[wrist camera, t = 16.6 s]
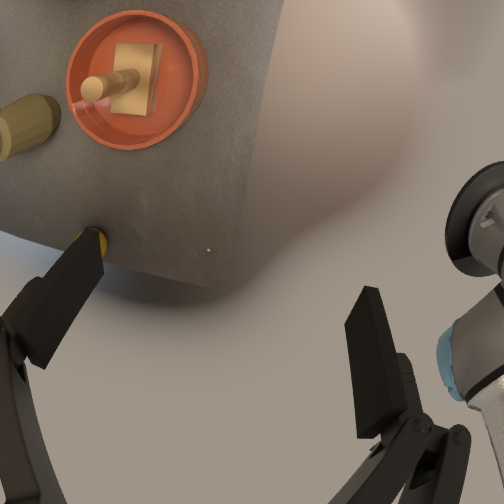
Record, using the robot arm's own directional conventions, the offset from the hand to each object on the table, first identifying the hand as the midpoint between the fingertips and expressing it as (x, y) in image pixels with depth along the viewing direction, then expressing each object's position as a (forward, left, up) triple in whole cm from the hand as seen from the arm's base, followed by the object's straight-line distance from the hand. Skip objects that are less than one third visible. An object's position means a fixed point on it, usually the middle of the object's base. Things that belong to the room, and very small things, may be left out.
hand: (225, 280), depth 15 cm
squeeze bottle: (+28, -16, -29) cm, 43 cm away
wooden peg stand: (+11, -13, -28) cm, 32 cm away
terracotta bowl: (+11, -13, -28) cm, 33 cm away
